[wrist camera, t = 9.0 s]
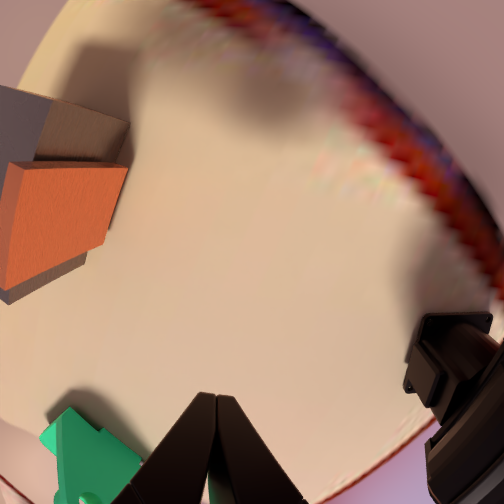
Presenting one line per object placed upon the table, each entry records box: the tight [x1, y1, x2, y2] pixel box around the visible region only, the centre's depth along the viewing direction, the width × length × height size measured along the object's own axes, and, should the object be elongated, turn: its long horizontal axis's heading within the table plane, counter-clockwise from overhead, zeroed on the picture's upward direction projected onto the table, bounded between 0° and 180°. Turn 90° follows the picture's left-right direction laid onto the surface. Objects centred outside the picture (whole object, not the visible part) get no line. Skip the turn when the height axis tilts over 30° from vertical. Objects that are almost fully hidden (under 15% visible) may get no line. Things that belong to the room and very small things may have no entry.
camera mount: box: [39, 407, 142, 504], centre depth 20 cm, size 12×8×10 cm, turn 42°
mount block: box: [0, 85, 130, 305], centre depth 15 cm, size 5×10×8 cm, turn 156°
